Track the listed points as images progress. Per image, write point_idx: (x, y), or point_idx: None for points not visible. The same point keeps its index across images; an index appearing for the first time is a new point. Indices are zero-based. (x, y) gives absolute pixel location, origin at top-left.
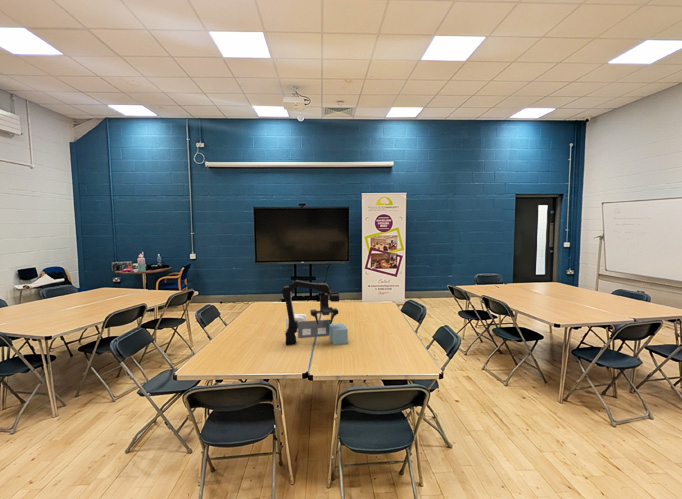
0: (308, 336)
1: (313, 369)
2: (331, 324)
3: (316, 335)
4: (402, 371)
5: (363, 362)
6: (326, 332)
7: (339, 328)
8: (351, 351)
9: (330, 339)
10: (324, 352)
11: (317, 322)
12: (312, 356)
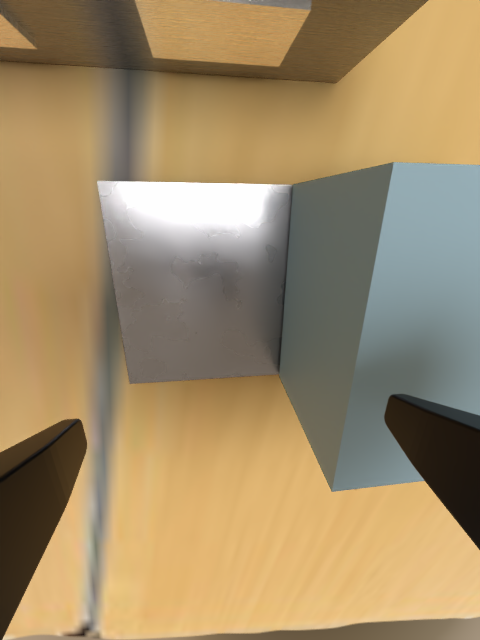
0: (12, 53)
1: (116, 612)
2: (426, 200)
3: (137, 57)
4: (447, 609)
5: (358, 563)
6: (292, 54)
7: None
8: None
9: (289, 251)
10: (191, 464)
11: (38, 525)
12: (106, 508)
